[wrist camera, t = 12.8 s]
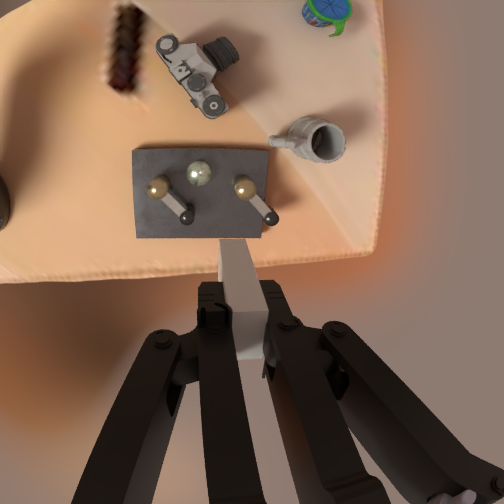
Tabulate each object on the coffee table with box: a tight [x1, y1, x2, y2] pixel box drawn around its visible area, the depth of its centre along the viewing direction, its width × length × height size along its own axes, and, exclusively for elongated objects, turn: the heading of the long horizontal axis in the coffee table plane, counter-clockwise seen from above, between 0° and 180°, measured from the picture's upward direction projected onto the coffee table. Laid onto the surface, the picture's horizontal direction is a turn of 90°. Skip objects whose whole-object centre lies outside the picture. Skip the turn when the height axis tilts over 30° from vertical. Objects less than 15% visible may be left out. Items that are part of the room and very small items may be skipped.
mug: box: [268, 117, 346, 163], centre depth 41 cm, size 8×12×12 cm, turn 94°
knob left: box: [147, 175, 195, 225], centre depth 44 cm, size 3×10×4 cm, turn 40°
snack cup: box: [302, 0, 352, 37], centre depth 33 cm, size 11×8×7 cm
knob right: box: [234, 176, 279, 226], centre depth 47 cm, size 3×10×4 cm, turn 40°
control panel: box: [132, 147, 269, 238], centre depth 47 cm, size 23×16×4 cm
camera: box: [155, 33, 239, 119], centre depth 35 cm, size 16×10×10 cm, turn 33°
